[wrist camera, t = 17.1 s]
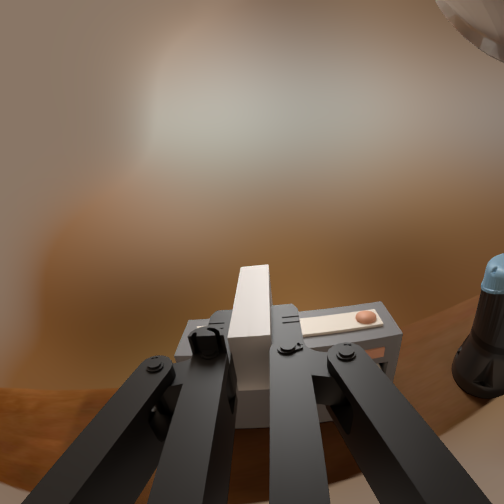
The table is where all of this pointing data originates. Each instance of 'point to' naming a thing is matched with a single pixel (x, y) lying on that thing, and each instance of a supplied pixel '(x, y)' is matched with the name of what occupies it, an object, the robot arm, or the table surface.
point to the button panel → (320, 339)
